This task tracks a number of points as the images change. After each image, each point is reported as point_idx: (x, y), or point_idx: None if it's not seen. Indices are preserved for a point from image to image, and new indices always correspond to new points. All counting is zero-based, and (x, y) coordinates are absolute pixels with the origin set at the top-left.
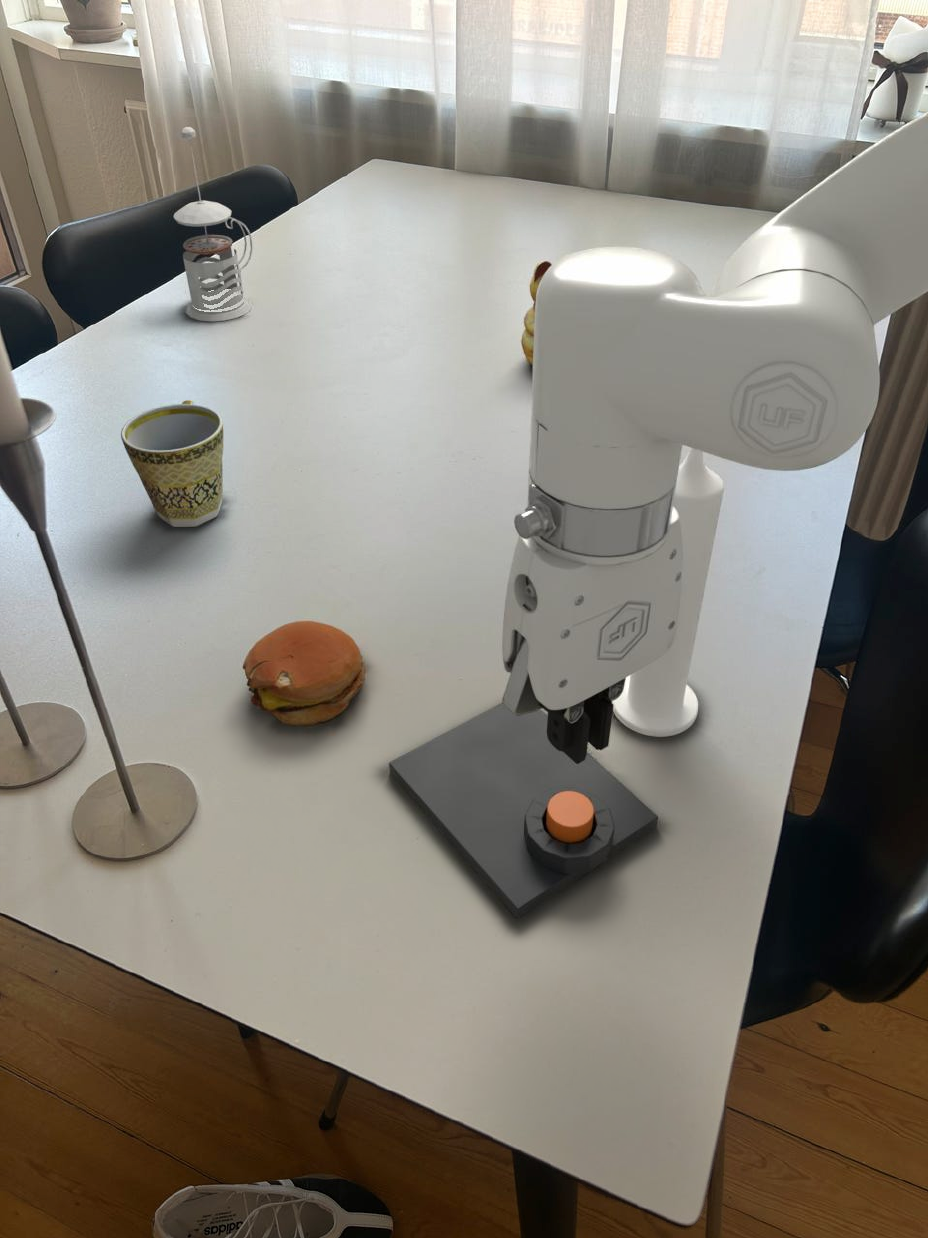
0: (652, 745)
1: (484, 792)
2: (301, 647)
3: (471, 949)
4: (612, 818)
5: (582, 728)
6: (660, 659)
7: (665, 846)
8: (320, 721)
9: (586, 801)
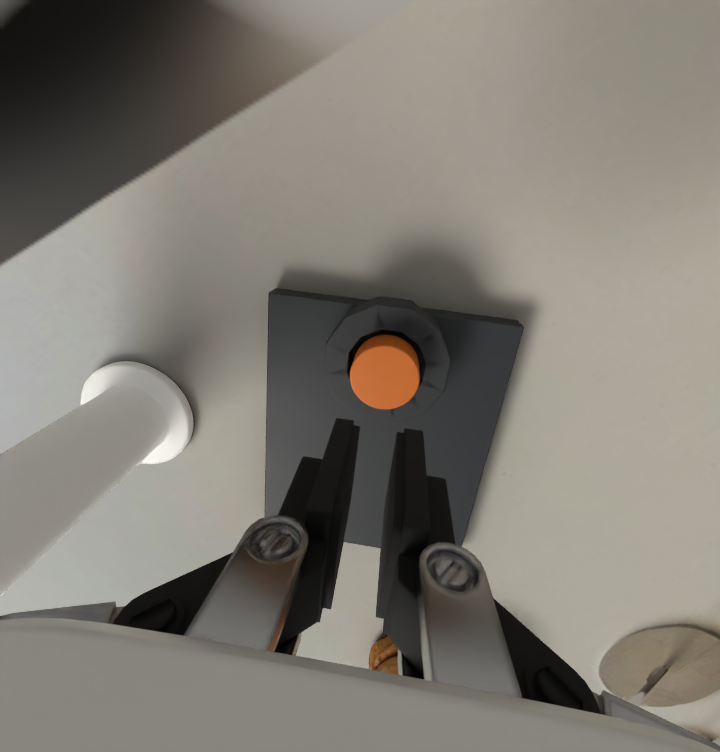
0: (185, 375)
1: None
2: None
3: (591, 330)
4: (319, 334)
5: (428, 508)
6: (79, 465)
7: (289, 259)
8: None
9: (356, 371)
